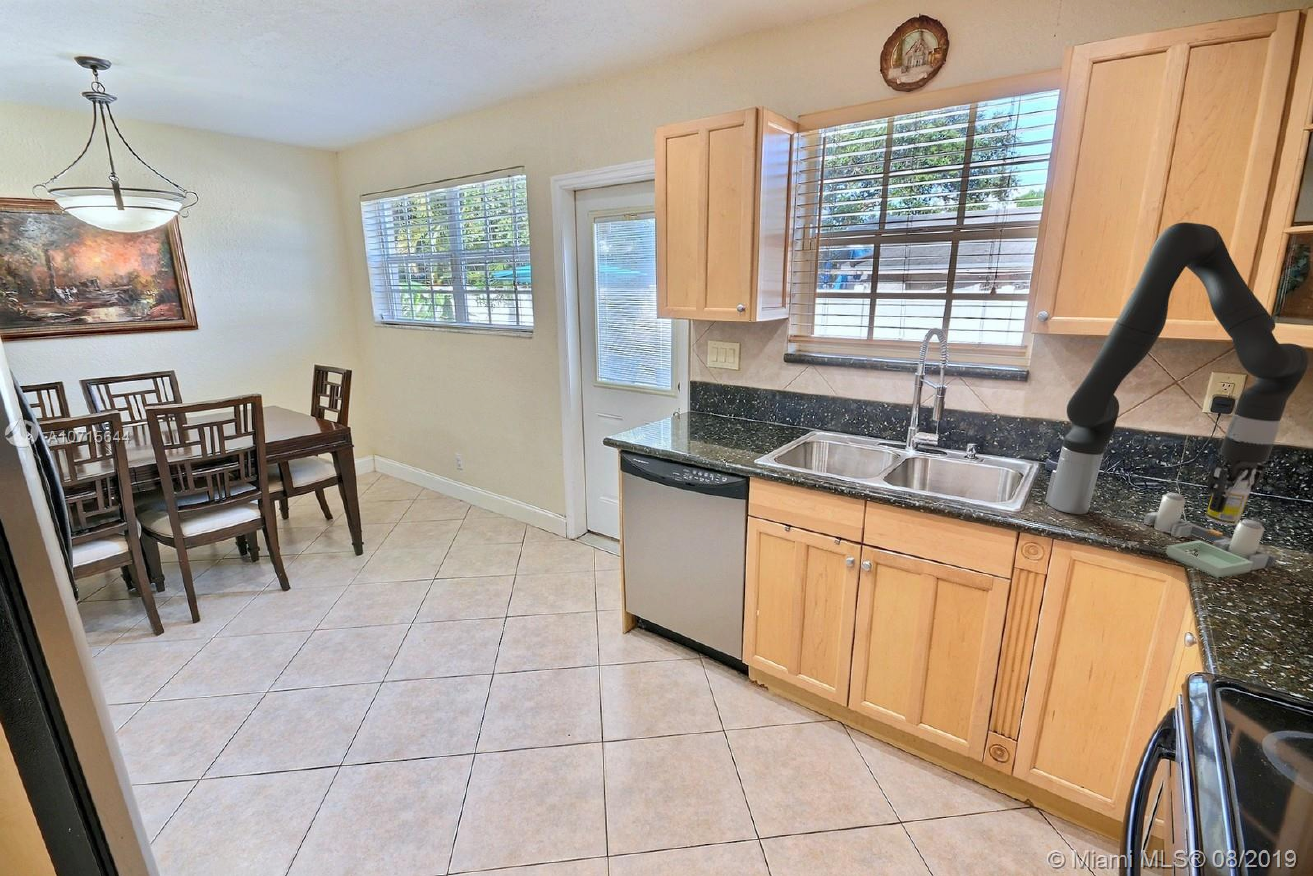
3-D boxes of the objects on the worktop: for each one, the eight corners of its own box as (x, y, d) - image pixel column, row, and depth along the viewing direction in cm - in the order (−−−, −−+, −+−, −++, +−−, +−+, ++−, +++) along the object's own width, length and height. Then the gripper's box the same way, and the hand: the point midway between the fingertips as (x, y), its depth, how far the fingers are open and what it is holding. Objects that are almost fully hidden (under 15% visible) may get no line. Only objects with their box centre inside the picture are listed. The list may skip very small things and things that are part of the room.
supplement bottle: (1219, 515, 134) (1234, 473, 131) (1245, 526, 129) (1261, 483, 126) (1197, 515, 133) (1212, 474, 130) (1222, 526, 128) (1238, 483, 125)
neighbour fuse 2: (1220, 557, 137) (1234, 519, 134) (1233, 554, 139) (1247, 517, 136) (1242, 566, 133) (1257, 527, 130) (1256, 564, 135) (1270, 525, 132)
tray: (1164, 555, 138) (1167, 545, 137) (1196, 549, 141) (1199, 540, 140) (1216, 578, 128) (1220, 568, 127) (1249, 572, 131) (1253, 562, 130)
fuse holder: (1142, 524, 154) (1145, 513, 153) (1161, 520, 156) (1165, 510, 155) (1253, 570, 132) (1257, 558, 131) (1274, 566, 134) (1278, 554, 133)
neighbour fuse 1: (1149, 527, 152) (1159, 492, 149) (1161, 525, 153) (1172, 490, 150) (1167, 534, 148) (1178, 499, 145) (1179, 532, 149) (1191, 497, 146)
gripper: (1251, 429, 130) (1227, 499, 136) (1206, 434, 126) (1183, 506, 132) (1294, 440, 124) (1267, 512, 129) (1248, 445, 120) (1222, 520, 125)
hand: (1225, 509), depth 130 cm, fingers closed on supplement bottle, 5 cm apart
